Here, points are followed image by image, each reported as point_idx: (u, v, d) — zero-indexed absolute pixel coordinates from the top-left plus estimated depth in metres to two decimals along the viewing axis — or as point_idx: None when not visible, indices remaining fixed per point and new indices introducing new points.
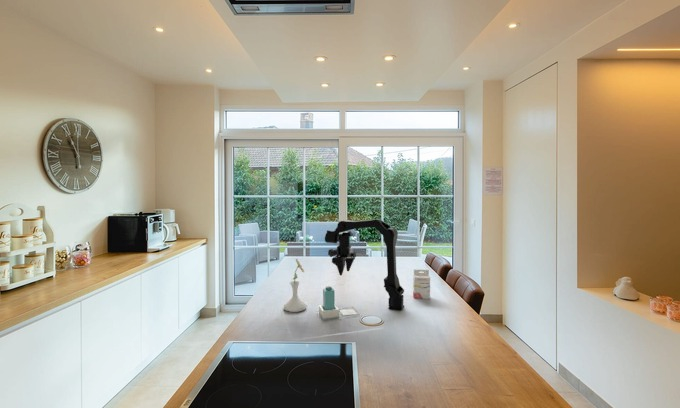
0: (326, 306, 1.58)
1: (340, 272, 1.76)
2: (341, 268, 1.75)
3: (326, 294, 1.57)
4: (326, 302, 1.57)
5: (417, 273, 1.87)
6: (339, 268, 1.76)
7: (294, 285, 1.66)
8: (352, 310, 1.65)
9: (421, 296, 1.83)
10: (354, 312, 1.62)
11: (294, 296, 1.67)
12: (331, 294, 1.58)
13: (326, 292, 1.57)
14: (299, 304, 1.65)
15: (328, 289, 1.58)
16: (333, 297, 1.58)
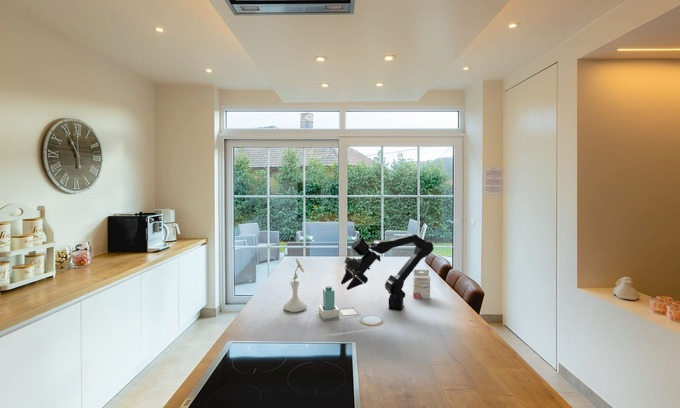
0: (326, 306, 1.58)
1: (350, 287, 1.57)
2: (355, 284, 1.57)
3: (326, 294, 1.57)
4: (326, 302, 1.57)
5: (417, 273, 1.87)
6: (353, 283, 1.57)
7: (294, 285, 1.66)
8: (352, 310, 1.65)
9: (421, 296, 1.83)
10: (354, 312, 1.62)
11: (294, 296, 1.67)
12: (331, 294, 1.58)
13: (326, 292, 1.57)
14: (299, 304, 1.65)
15: (328, 289, 1.58)
16: (333, 297, 1.58)
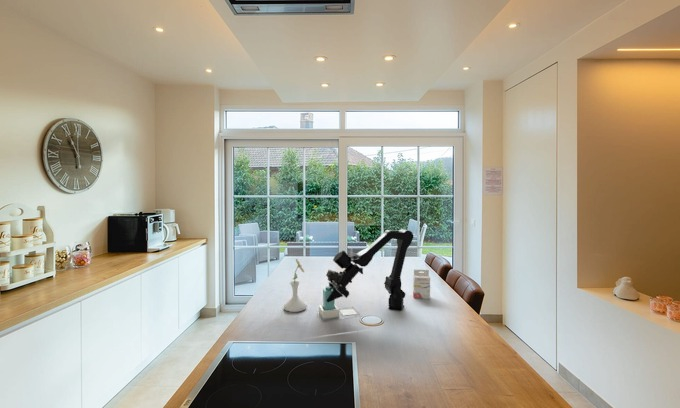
0: (326, 306, 1.58)
1: (330, 299, 1.57)
2: (335, 297, 1.57)
3: (326, 294, 1.57)
4: (326, 302, 1.57)
5: (417, 273, 1.87)
6: (333, 295, 1.57)
7: (294, 285, 1.66)
8: (352, 310, 1.65)
9: (421, 296, 1.83)
10: (354, 312, 1.62)
11: (294, 296, 1.67)
12: None
13: (326, 292, 1.57)
14: (299, 304, 1.65)
15: (328, 289, 1.58)
16: None
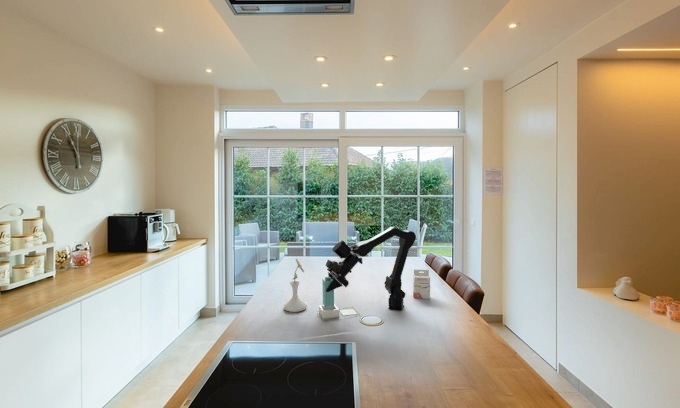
0: (325, 296, 1.57)
1: (329, 289, 1.57)
2: (334, 287, 1.57)
3: (325, 284, 1.57)
4: (325, 292, 1.57)
5: (417, 273, 1.87)
6: (332, 285, 1.56)
7: (294, 285, 1.66)
8: (352, 310, 1.65)
9: (421, 296, 1.83)
10: (354, 312, 1.62)
11: (294, 296, 1.67)
12: None
13: (325, 282, 1.57)
14: (299, 304, 1.65)
15: (327, 279, 1.58)
16: None
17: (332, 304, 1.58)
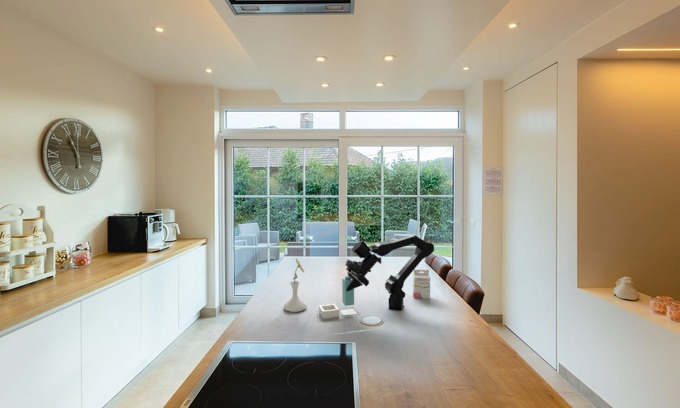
0: (346, 295, 1.60)
1: (349, 288, 1.59)
2: (354, 286, 1.59)
3: (346, 283, 1.60)
4: (346, 291, 1.60)
5: (417, 273, 1.87)
6: (352, 284, 1.59)
7: (294, 285, 1.66)
8: (352, 310, 1.65)
9: (421, 296, 1.83)
10: (354, 312, 1.62)
11: (294, 296, 1.67)
12: None
13: (346, 281, 1.60)
14: (299, 304, 1.65)
15: (348, 278, 1.61)
16: None
17: (352, 303, 1.61)
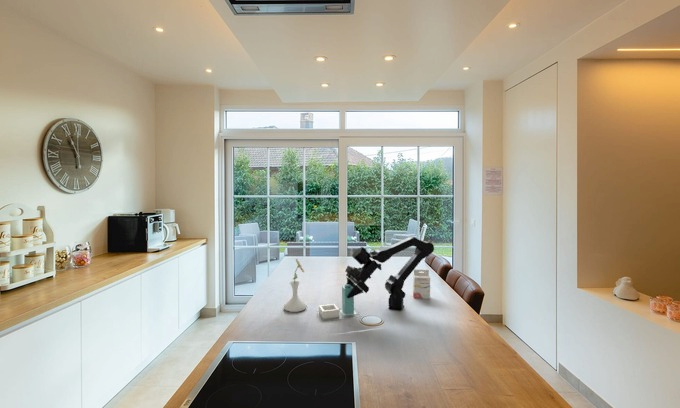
0: (346, 303, 1.60)
1: (350, 295, 1.58)
2: (355, 293, 1.58)
3: (345, 292, 1.60)
4: (346, 299, 1.60)
5: (417, 273, 1.87)
6: (353, 292, 1.58)
7: (294, 285, 1.66)
8: None
9: (421, 296, 1.83)
10: (354, 312, 1.62)
11: (294, 296, 1.67)
12: None
13: (345, 290, 1.60)
14: (299, 304, 1.65)
15: (347, 287, 1.61)
16: None
17: (352, 311, 1.61)
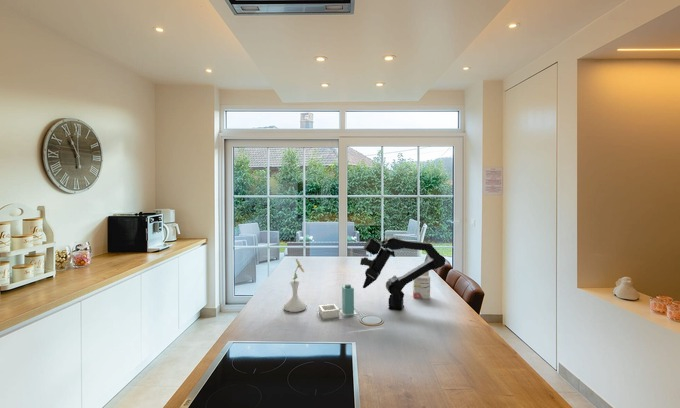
0: (346, 303, 1.60)
1: (365, 285, 1.63)
2: (369, 282, 1.62)
3: (346, 292, 1.60)
4: (346, 299, 1.60)
5: None
6: (367, 281, 1.62)
7: (294, 285, 1.66)
8: None
9: (421, 296, 1.83)
10: (354, 312, 1.62)
11: (294, 296, 1.67)
12: (350, 292, 1.61)
13: (346, 290, 1.60)
14: (299, 304, 1.65)
15: (347, 287, 1.61)
16: (352, 295, 1.61)
17: (352, 311, 1.61)
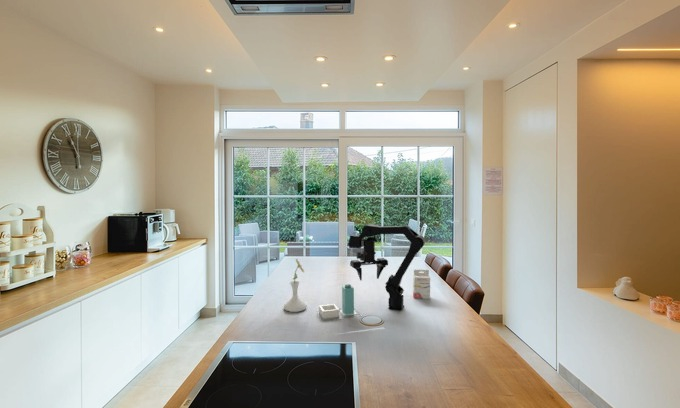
0: (346, 303, 1.60)
1: (359, 277, 1.73)
2: (358, 273, 1.72)
3: (346, 292, 1.60)
4: (346, 299, 1.60)
5: (417, 273, 1.87)
6: (358, 272, 1.73)
7: (294, 285, 1.66)
8: None
9: (421, 296, 1.83)
10: (354, 312, 1.62)
11: (294, 296, 1.67)
12: (350, 292, 1.61)
13: (346, 290, 1.60)
14: (299, 304, 1.65)
15: (347, 287, 1.61)
16: (352, 295, 1.61)
17: (352, 311, 1.61)
